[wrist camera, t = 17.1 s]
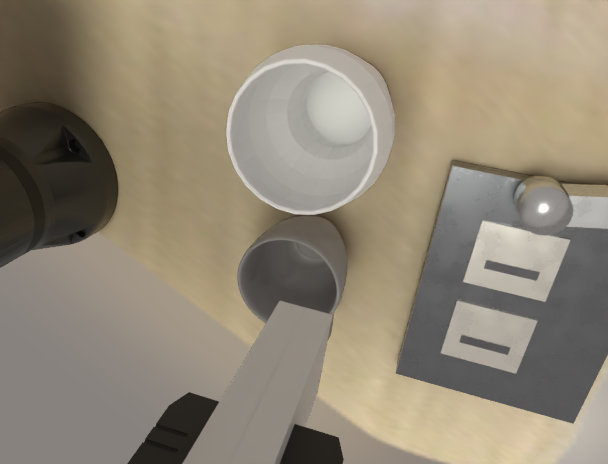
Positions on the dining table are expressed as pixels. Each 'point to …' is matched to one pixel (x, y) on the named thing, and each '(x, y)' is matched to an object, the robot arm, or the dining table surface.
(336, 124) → the cup
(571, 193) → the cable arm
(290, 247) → the mug
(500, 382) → the chassis
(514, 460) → the dining table surface
